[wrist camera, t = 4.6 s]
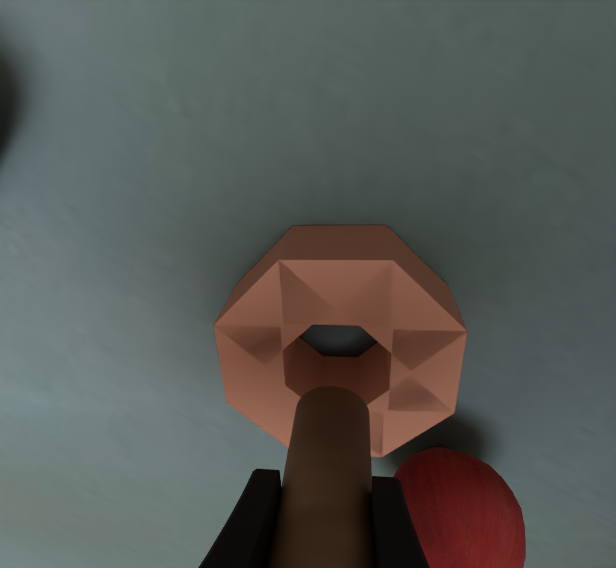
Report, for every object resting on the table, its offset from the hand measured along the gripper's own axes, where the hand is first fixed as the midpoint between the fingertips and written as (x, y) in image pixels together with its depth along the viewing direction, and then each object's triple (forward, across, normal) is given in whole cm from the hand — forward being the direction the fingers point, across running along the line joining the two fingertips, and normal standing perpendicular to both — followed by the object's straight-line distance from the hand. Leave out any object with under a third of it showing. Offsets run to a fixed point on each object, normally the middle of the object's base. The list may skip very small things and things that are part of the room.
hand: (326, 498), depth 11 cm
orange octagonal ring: (+9, 0, 0) cm, 9 cm away
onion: (+9, -5, +8) cm, 13 cm away
